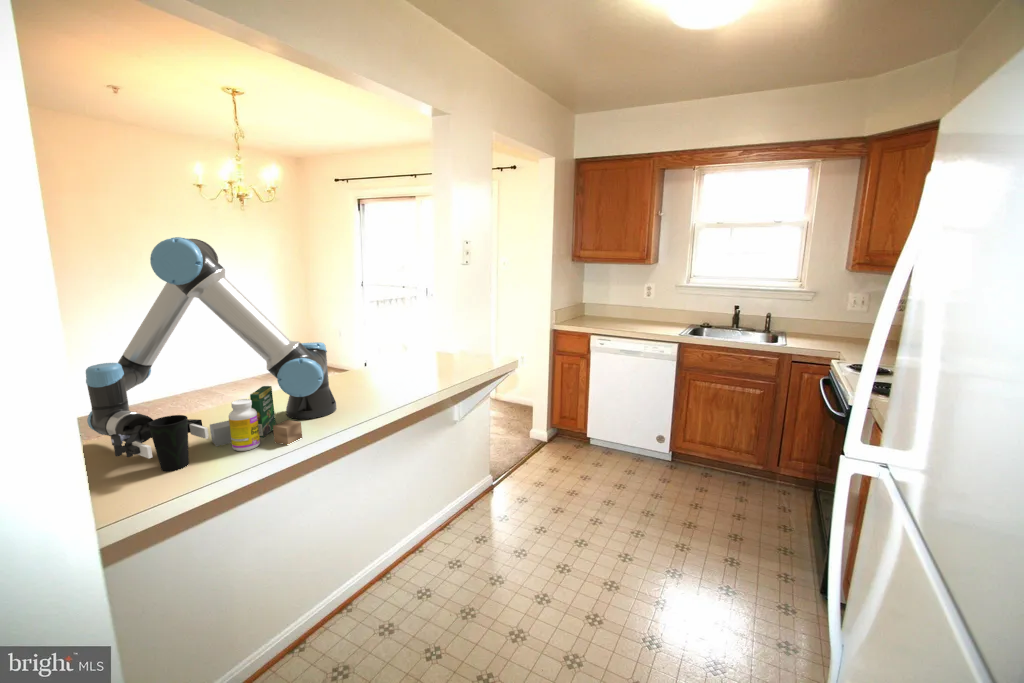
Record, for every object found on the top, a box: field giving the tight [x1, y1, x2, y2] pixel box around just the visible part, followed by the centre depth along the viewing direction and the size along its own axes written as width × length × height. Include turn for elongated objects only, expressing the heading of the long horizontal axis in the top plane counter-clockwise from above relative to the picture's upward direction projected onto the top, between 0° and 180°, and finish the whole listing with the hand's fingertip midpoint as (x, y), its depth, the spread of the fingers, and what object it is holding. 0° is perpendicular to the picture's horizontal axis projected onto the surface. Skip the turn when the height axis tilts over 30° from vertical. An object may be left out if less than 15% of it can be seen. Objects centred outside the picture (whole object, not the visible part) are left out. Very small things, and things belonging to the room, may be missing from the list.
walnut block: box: [272, 419, 303, 445], centre depth 131 cm, size 5×5×5 cm
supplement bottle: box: [228, 398, 261, 452], centre depth 126 cm, size 7×7×13 cm
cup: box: [149, 414, 190, 473], centre depth 114 cm, size 8×8×12 cm
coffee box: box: [249, 385, 277, 438], centre depth 135 cm, size 8×3×13 cm, turn 2°
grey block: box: [209, 419, 232, 447], centre depth 130 cm, size 5×5×5 cm
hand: (179, 442), depth 113 cm, fingers open, 12 cm apart
